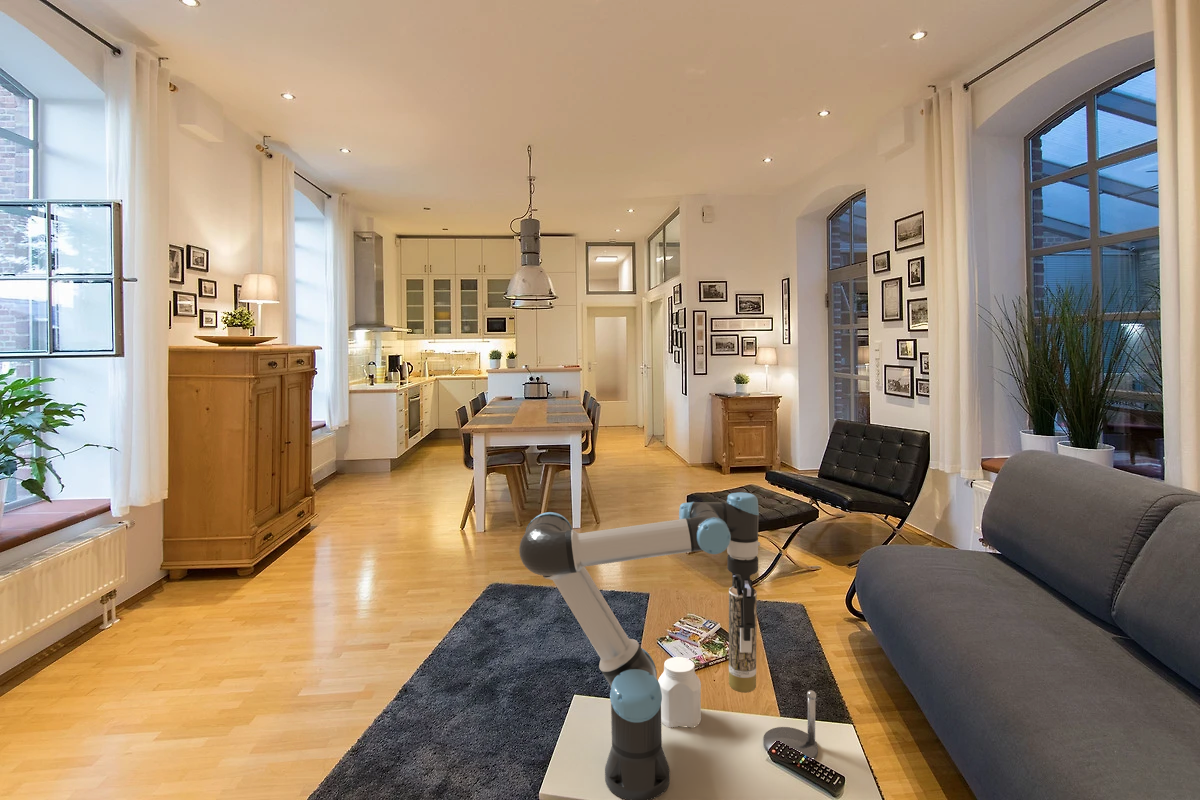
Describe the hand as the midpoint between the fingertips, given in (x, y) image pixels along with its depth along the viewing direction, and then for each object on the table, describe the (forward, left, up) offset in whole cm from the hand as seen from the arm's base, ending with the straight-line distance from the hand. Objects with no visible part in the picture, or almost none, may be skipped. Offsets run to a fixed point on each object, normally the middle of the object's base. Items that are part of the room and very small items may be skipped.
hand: (742, 644), depth 153 cm
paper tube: (0, 0, -11) cm, 11 cm away
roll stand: (+11, -3, -26) cm, 28 cm away
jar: (-15, +11, -26) cm, 32 cm away
